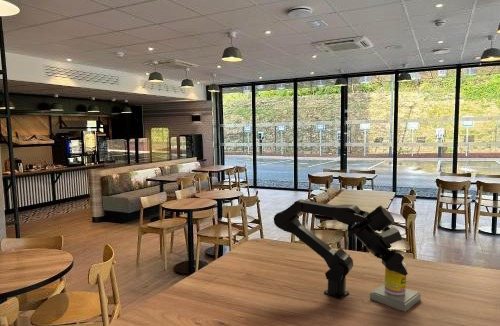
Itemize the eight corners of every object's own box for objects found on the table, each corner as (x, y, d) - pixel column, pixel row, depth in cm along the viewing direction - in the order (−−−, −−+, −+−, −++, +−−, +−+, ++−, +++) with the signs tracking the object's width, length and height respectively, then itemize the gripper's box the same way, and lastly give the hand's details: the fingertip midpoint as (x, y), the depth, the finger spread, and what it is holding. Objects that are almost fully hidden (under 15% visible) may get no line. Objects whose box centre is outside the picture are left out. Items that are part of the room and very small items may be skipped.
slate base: (404, 311, 114) (405, 304, 114) (369, 298, 123) (370, 291, 122) (420, 299, 122) (420, 292, 122) (386, 288, 131) (386, 281, 131)
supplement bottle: (402, 298, 118) (404, 260, 116) (381, 292, 122) (383, 255, 120) (407, 291, 123) (409, 254, 122) (387, 285, 127) (389, 250, 126)
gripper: (398, 228, 110) (432, 263, 112) (376, 213, 129) (405, 243, 130) (372, 253, 111) (406, 287, 112) (353, 235, 130) (383, 264, 131)
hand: (400, 269), depth 121 cm, fingers open, 9 cm apart
